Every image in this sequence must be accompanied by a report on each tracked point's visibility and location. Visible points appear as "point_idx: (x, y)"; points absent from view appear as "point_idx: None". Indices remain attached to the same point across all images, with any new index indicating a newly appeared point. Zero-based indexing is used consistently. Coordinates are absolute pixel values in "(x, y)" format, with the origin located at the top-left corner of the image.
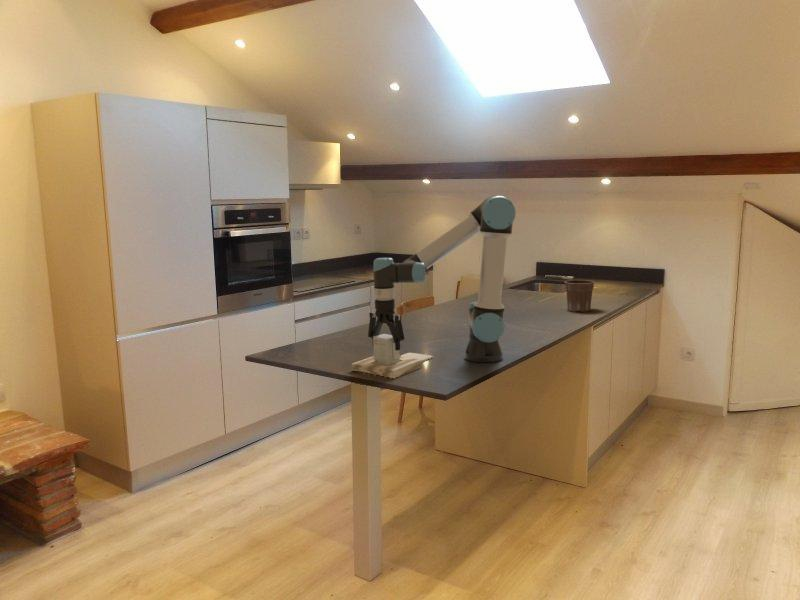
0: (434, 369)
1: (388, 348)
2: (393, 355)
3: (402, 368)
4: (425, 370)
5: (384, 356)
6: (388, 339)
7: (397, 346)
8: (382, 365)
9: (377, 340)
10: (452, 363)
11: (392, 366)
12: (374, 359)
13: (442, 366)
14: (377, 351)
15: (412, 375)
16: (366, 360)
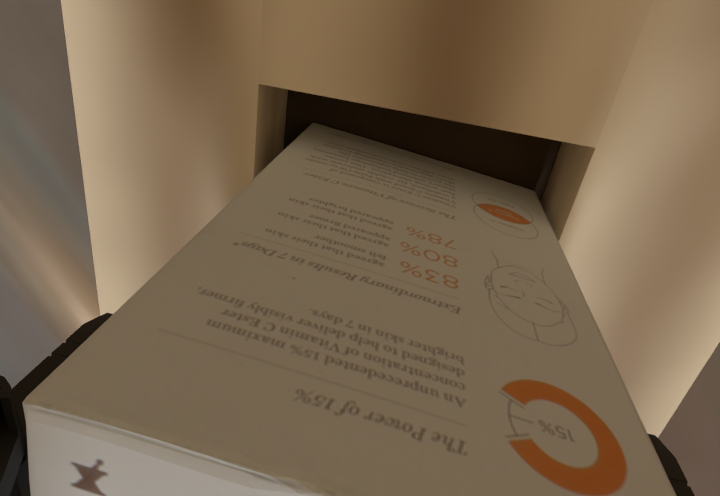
0: (32, 332)
1: (176, 254)
2: None
3: (83, 100)
4: (67, 291)
5: (335, 205)
6: (27, 413)
7: (52, 359)
8: (351, 92)
9: (509, 462)
10: None
11: (199, 91)
12: (548, 237)
13: None
14: (493, 283)
15: (48, 113)
16: (690, 256)
